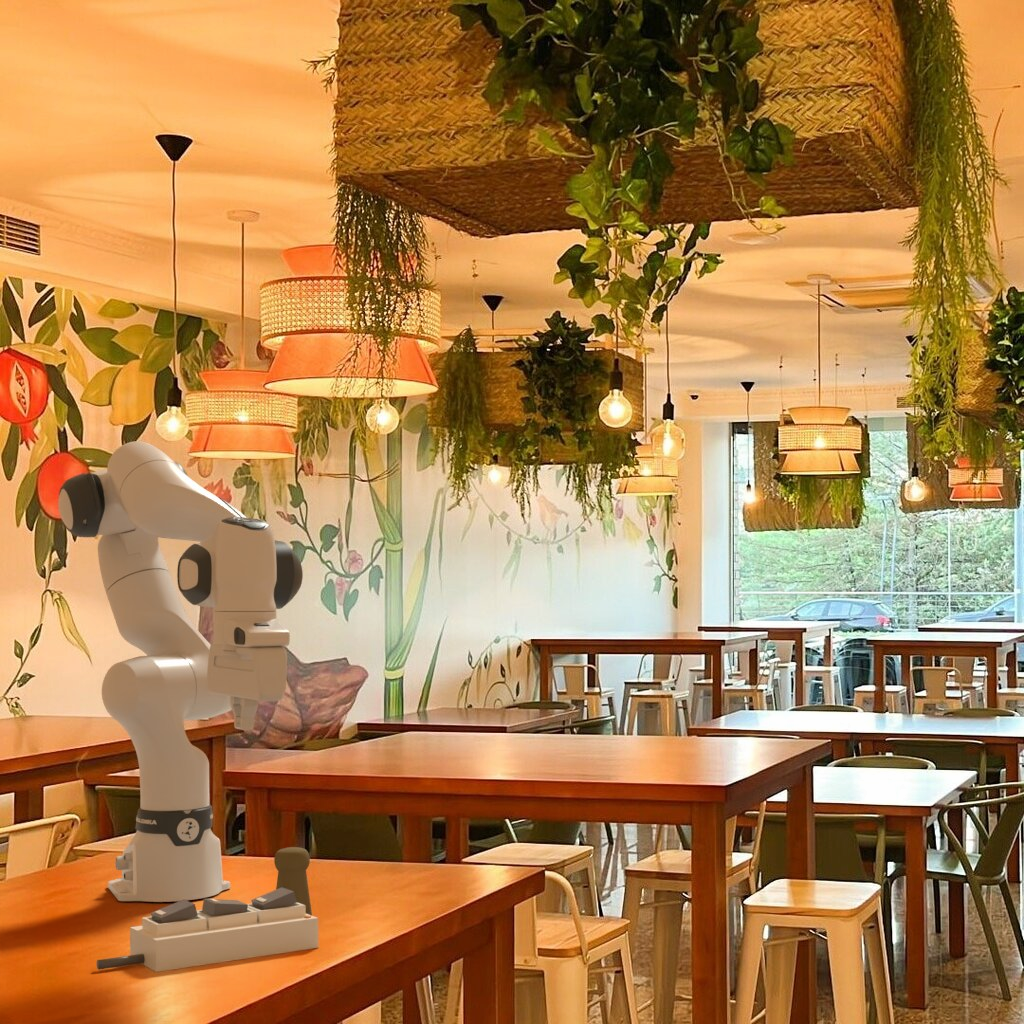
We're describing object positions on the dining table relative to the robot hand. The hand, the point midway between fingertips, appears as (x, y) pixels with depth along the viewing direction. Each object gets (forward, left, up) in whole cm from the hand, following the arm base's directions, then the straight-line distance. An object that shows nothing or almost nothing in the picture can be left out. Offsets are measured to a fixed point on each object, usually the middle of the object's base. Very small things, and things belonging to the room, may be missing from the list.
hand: (243, 729), depth 219 cm
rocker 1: (+6, -12, -23) cm, 27 cm away
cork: (-6, +10, -30) cm, 32 cm away
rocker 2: (+6, -5, -23) cm, 25 cm away
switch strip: (+6, -8, -29) cm, 31 cm away
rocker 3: (+6, +2, -23) cm, 24 cm away
